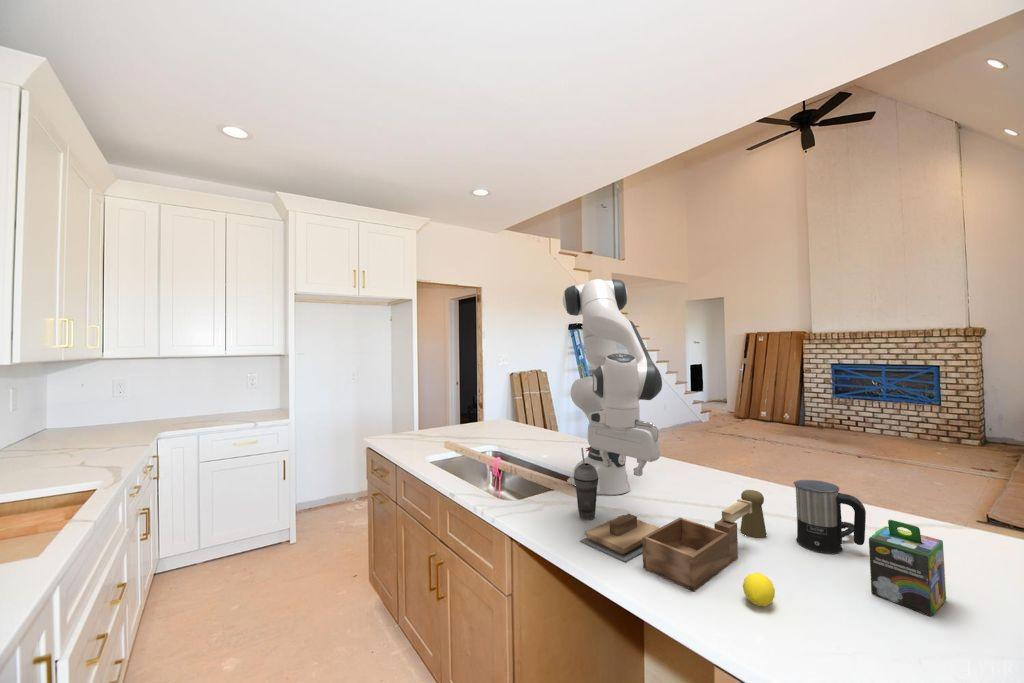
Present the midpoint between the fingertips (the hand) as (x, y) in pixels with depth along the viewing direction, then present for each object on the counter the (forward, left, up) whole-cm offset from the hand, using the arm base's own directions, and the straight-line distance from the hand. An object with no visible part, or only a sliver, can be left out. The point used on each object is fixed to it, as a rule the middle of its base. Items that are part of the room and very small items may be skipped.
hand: (622, 470), depth 111 cm
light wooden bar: (+22, +15, -10) cm, 28 cm away
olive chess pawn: (+20, +28, -18) cm, 39 cm away
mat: (0, 0, -18) cm, 18 cm away
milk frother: (+34, +36, -18) cm, 53 cm away
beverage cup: (-16, +4, -18) cm, 24 cm away
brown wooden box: (+17, +2, -18) cm, 25 cm away
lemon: (+33, -2, -18) cm, 38 cm away
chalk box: (+51, +21, -18) cm, 58 cm away
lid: (0, 0, -17) cm, 17 cm away
